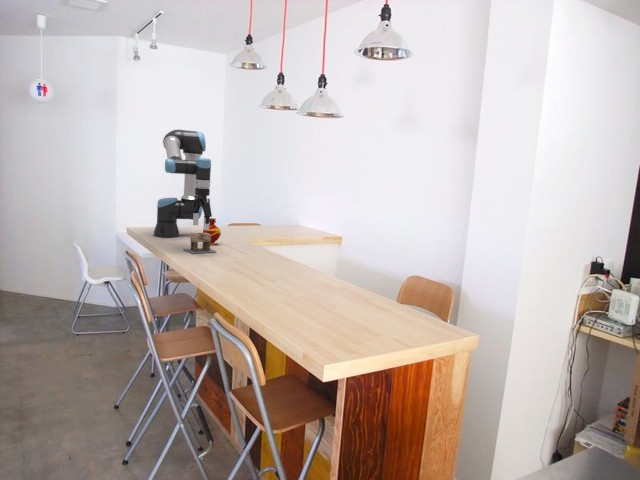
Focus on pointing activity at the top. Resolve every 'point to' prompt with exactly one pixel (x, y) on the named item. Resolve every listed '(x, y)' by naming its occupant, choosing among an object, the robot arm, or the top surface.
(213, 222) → the potion bottle
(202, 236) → the footstool
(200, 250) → the mat
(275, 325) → the top surface
